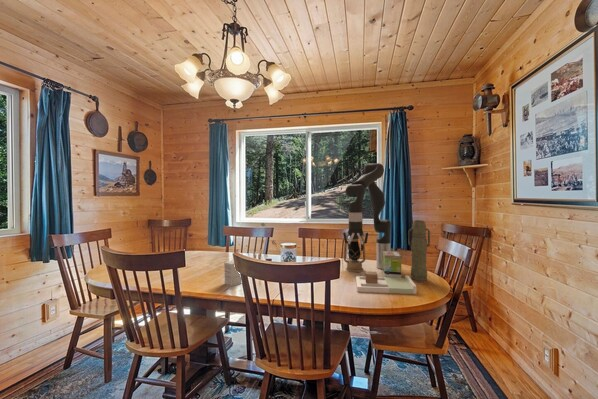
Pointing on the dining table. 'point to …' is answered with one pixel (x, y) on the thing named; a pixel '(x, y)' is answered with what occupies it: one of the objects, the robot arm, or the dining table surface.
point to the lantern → (354, 256)
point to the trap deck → (387, 285)
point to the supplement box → (231, 274)
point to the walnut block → (371, 277)
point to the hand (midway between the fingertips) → (355, 250)
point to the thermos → (419, 250)
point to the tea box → (392, 264)
